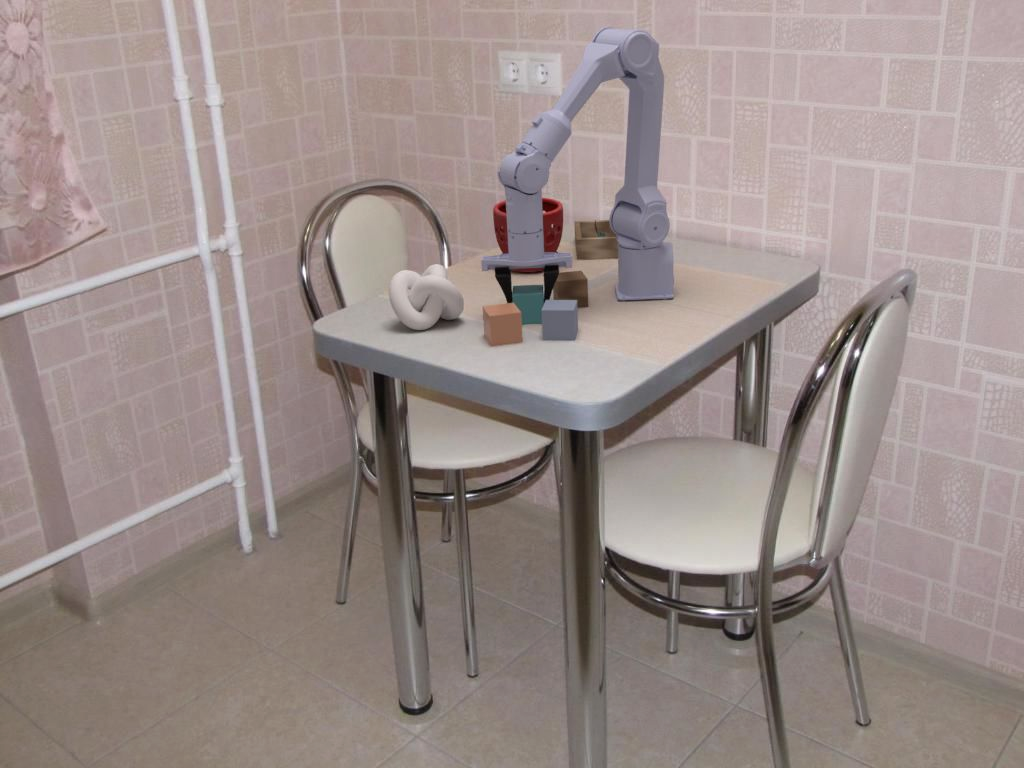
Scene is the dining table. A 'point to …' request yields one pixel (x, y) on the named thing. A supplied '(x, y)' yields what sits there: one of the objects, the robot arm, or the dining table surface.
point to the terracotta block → (502, 324)
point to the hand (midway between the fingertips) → (528, 310)
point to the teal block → (529, 302)
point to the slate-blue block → (560, 320)
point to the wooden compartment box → (595, 240)
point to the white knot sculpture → (424, 297)
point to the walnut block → (572, 288)
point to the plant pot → (550, 234)
